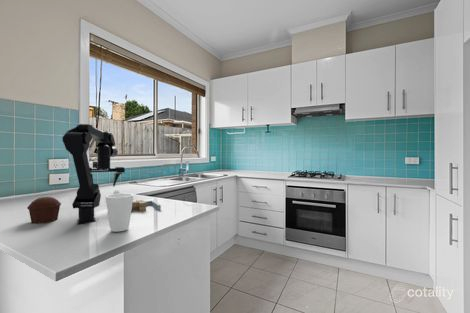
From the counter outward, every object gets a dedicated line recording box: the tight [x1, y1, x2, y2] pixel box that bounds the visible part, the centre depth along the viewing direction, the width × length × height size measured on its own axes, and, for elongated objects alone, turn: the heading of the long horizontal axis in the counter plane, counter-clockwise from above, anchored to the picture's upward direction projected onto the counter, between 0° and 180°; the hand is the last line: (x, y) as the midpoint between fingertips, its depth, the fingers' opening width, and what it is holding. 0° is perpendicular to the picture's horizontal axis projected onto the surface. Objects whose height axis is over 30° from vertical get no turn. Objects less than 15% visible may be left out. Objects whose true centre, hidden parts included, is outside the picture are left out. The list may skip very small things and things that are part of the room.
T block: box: [131, 199, 147, 212], centre depth 115 cm, size 9×9×4 cm
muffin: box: [26, 196, 62, 225], centre depth 97 cm, size 12×11×10 cm
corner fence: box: [144, 199, 162, 212], centre depth 118 cm, size 16×11×3 cm
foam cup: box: [105, 192, 134, 233], centre depth 86 cm, size 10×9×13 cm
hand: (103, 187), depth 113 cm, fingers open, 9 cm apart
